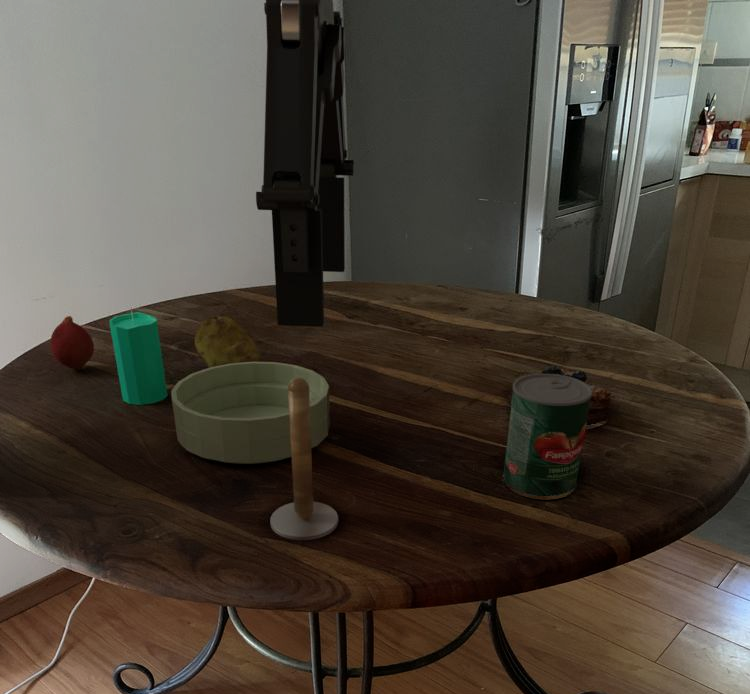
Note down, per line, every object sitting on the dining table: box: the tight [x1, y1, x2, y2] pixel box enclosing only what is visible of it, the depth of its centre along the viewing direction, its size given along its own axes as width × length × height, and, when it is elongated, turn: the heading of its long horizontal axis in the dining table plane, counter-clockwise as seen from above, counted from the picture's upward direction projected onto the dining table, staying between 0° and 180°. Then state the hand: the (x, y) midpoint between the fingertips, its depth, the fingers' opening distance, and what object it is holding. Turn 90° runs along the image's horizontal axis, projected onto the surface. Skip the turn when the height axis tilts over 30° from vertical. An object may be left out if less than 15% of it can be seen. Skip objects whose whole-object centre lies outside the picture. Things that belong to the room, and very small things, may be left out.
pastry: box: [507, 365, 612, 425], centre depth 94 cm, size 11×12×6 cm
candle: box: [109, 307, 168, 406], centre depth 96 cm, size 6×6×12 cm
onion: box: [49, 315, 95, 371], centre depth 106 cm, size 6×6×8 cm
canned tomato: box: [502, 373, 592, 496], centre depth 77 cm, size 8×8×11 cm
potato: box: [194, 314, 265, 368], centre depth 104 cm, size 8×13×8 cm, turn 22°
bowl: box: [170, 361, 331, 465], centre depth 88 cm, size 18×18×6 cm
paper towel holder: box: [269, 378, 339, 541], centre depth 66 cm, size 6×6×16 cm
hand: (315, 294), depth 50 cm, fingers open, 13 cm apart
